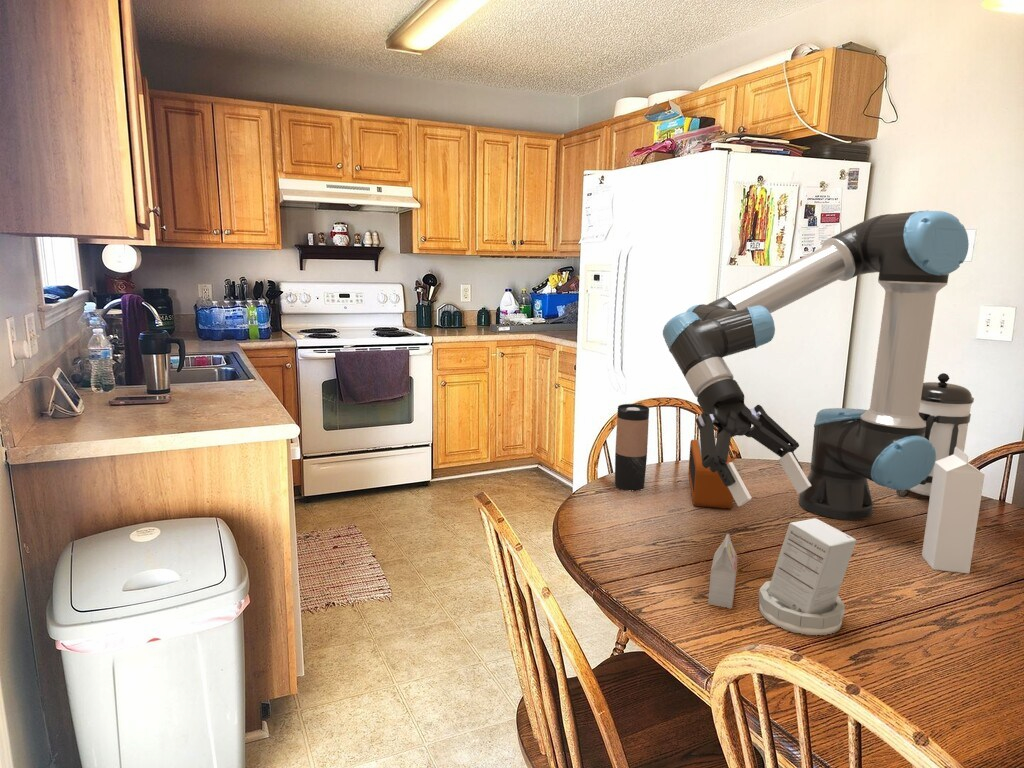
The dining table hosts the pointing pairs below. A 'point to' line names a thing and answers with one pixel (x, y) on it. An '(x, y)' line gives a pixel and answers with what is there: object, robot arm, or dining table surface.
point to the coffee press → (943, 422)
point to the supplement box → (811, 566)
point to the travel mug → (631, 446)
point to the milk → (952, 514)
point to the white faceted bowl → (800, 615)
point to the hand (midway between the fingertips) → (775, 496)
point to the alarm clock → (706, 481)
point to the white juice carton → (723, 575)
